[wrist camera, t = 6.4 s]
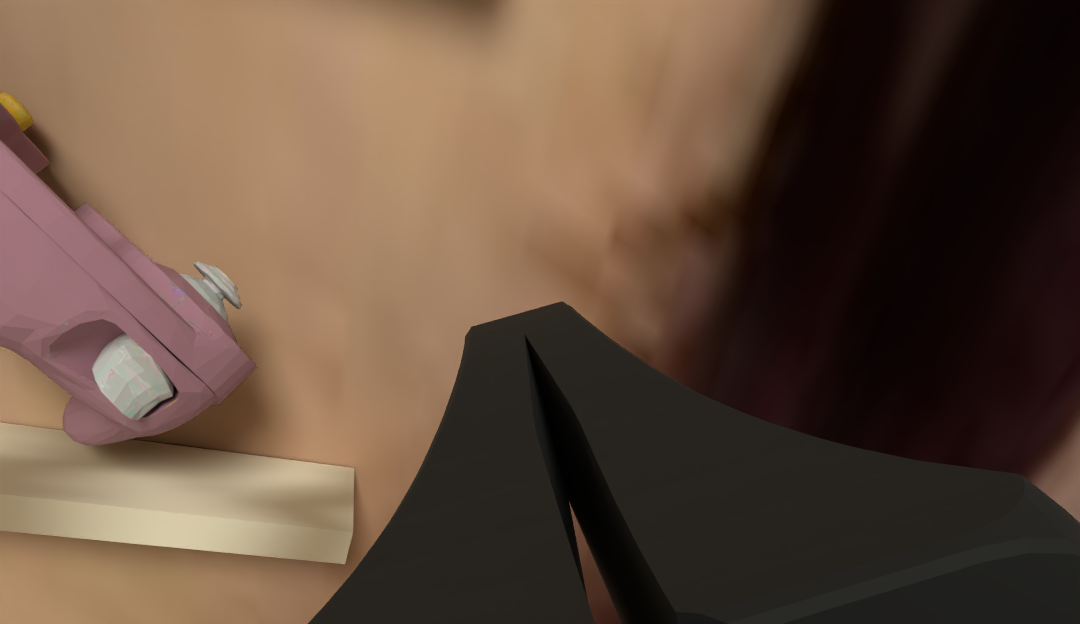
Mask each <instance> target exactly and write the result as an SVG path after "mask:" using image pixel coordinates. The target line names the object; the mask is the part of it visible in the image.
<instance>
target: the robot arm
mask: <svg viewBox="0 0 1080 624" xmlns="http://www.w3.org/2000/svg"><path fill="white" fill-rule="evenodd" d="M569 502H570V504H571V507H572V509H573V511H574V514H575V516H576V518H577V521H578V523H579V525H580V528H581V530H582V532H583V534H584V537H585V539H586V541H587V544H588V546H589V548H590V551H591V553H592V555H593V558H594V560H595V562H596V564H597V567H598V569H599V571H600V574H601V576H602V578H603V580H604V583H605V585H606V587H607V590H608V592H609V594H610V596H611V599H612V601H613V603H614V606H615V608H616V610H617V613H618V615H619V617H620V619H621V622H622V624H1080V523H1079V522H1078V521H1077V520H1076V519H1075V518H1074V517H1073V516H1072V515H1070V514H1069V513H1068V512H1067V511H1066V510H1065V509H1064V508H1062V507H1061V506H1060V505H1059V504H1057V503H1056V502H1055V501H1054V500H1052V499H1051V498H1050V497H1049V496H1047V495H1046V494H1045V493H1043V492H1042V491H1041V490H1040V489H1038V488H1037V487H1036V486H1035V485H1033V484H1032V483H1031V482H1030V481H1028V480H1027V479H1026V478H1025V477H1023V476H1022V475H1021V474H1014V473H1007V472H999V471H992V470H984V469H977V468H970V467H962V466H955V465H947V464H940V463H932V462H925V461H918V460H913V459H907V458H902V457H898V456H893V455H888V454H884V453H879V452H874V451H869V450H865V449H860V448H855V447H851V446H847V445H843V444H840V443H836V442H832V441H828V440H824V439H820V438H817V437H814V436H810V435H807V434H804V433H801V432H798V431H794V430H791V429H788V428H785V427H782V426H778V425H775V424H772V423H769V422H767V421H764V420H761V419H758V418H756V417H753V416H750V415H748V414H745V413H743V412H740V411H738V410H736V409H733V408H731V407H729V406H726V405H724V404H722V403H719V402H717V401H715V400H712V399H710V398H708V397H705V396H703V395H701V394H699V393H697V392H695V391H693V390H691V389H689V388H688V387H686V386H684V385H682V384H681V383H679V382H677V381H675V380H673V379H672V378H670V377H668V376H666V375H665V374H663V373H661V372H660V371H658V370H656V369H655V368H653V367H652V366H650V365H648V364H647V363H645V362H644V361H642V360H641V359H639V358H638V357H636V356H635V355H633V354H632V353H630V352H629V351H627V350H626V349H624V348H623V347H621V346H620V345H619V344H617V343H616V342H614V341H613V340H612V339H610V338H609V337H608V336H606V335H605V334H604V333H602V332H601V331H600V330H598V329H597V328H596V327H595V326H593V325H592V324H591V323H590V322H588V321H587V320H586V319H585V318H584V317H582V316H581V315H580V314H579V313H578V312H577V311H576V310H574V309H573V308H572V307H571V306H569V305H567V304H566V303H564V302H558V303H555V304H551V305H547V306H544V307H540V308H537V309H533V310H530V311H526V312H523V313H519V314H515V315H512V316H508V317H505V318H501V319H498V320H494V321H491V322H487V323H484V324H480V325H476V326H473V327H471V329H470V330H469V332H468V333H467V335H466V336H465V345H464V350H463V355H462V360H461V364H460V367H459V371H458V374H457V378H456V381H455V385H454V387H453V390H452V393H451V396H450V399H449V402H448V405H447V407H446V410H445V413H444V416H443V418H442V421H441V423H440V426H439V428H438V430H437V432H436V435H435V437H434V439H433V441H432V444H431V446H430V448H429V450H428V453H427V455H426V457H425V459H424V461H423V464H422V466H421V468H420V469H419V471H418V473H417V475H416V477H415V479H414V481H413V483H412V485H411V486H410V488H409V490H408V492H407V494H406V495H405V497H404V499H403V500H402V502H401V504H400V505H399V507H398V509H397V510H396V512H395V514H394V515H393V517H392V519H391V520H390V522H389V523H388V525H387V526H386V528H385V529H384V530H383V532H382V533H381V535H380V536H379V538H378V539H377V541H376V542H375V543H374V545H373V546H372V547H371V549H370V550H369V552H368V553H367V554H366V556H365V557H364V558H363V560H362V561H361V562H360V564H359V565H358V566H357V568H356V569H355V570H354V572H353V573H352V574H351V575H350V577H349V578H348V579H347V580H346V581H345V583H344V584H343V585H342V586H341V587H340V588H339V590H338V591H337V592H336V593H335V594H334V595H333V597H332V598H331V599H330V600H329V601H328V602H327V604H326V605H325V606H324V607H323V608H322V609H321V610H320V611H319V612H318V613H317V614H316V616H315V617H314V618H313V619H312V620H311V621H310V622H309V623H308V624H595V623H594V620H593V617H592V614H591V611H590V608H589V604H588V600H587V595H586V589H585V584H584V579H583V573H582V568H581V563H580V557H579V552H578V547H577V542H576V536H575V531H574V526H573V520H572V515H571V510H570V505H569Z"/></svg>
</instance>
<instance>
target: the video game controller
mask: <svg viewBox="0 0 1080 624" xmlns="http://www.w3.org/2000/svg"><path fill="white" fill-rule="evenodd" d="M32 124H33V119H32V117H31V115H30V113H29V112H28V110H27V109H26V108H25V107H24V106H23V104H22V103H20V102H19V101H18V100H17V99H16V98H14V97H13V96H12V95H9V94H7V93H4V92H1V93H0V346H2V347H5V348H7V349H10V350H12V351H14V352H15V353H17V354H19V355H20V356H22V357H24V358H25V359H27V360H28V361H29V362H31V363H32V364H33V365H34V366H36V367H37V368H38V369H39V370H41V371H42V372H43V373H44V374H46V375H47V376H48V377H49V378H51V379H52V380H53V381H54V382H56V383H57V384H58V385H59V386H61V387H62V388H63V389H64V390H66V391H67V392H68V393H69V394H71V395H72V398H71V399H70V401H69V402H68V404H67V405H66V407H65V411H64V414H63V428H64V431H65V433H66V434H67V435H68V436H69V437H70V438H71V439H72V440H73V441H74V442H78V443H81V444H84V445H88V446H94V445H103V444H109V443H115V442H120V441H124V440H128V439H132V438H136V437H144V436H152V435H158V434H161V433H164V432H166V431H169V430H172V429H174V428H177V427H179V426H180V425H182V424H184V423H186V422H188V421H189V420H191V419H193V418H195V417H196V416H197V415H199V414H200V413H202V412H203V411H204V410H206V409H207V408H208V407H210V406H213V405H218V404H220V403H221V402H222V401H223V400H224V399H225V398H226V397H227V396H228V395H229V394H230V393H231V392H232V391H233V390H234V389H235V388H236V387H238V386H239V385H240V384H241V383H242V382H243V381H244V380H245V379H246V378H247V377H248V376H249V375H250V374H251V373H252V372H253V371H254V370H255V369H256V368H257V367H256V365H255V363H254V362H253V361H252V360H251V359H250V358H249V356H248V355H247V354H246V353H245V352H244V351H243V350H242V349H241V348H240V347H239V346H238V344H237V341H236V339H235V337H234V334H233V332H232V330H231V328H230V326H229V324H228V318H227V313H226V310H225V307H224V305H223V302H222V300H223V298H225V299H227V300H228V301H229V302H230V303H231V304H232V305H233V306H235V307H236V308H237V309H240V307H241V305H242V304H241V302H240V297H239V295H238V294H237V287H236V286H235V285H234V283H233V282H232V281H231V280H230V279H229V278H228V277H227V276H226V275H225V274H224V273H223V272H222V271H221V270H219V269H218V268H217V267H211V266H210V265H209V264H203V263H201V262H198V261H197V262H195V263H194V266H195V267H196V268H197V269H198V271H199V272H200V273H201V274H202V275H203V276H204V277H205V279H203V280H200V279H198V278H195V277H192V276H190V275H187V274H179V273H177V272H176V271H175V270H174V269H171V268H168V267H166V266H163V265H160V264H158V263H155V262H153V261H152V260H151V259H150V258H149V257H148V256H147V255H146V254H144V253H143V252H142V251H141V250H140V249H138V248H137V247H136V246H135V245H134V244H133V243H131V242H130V241H129V240H128V239H127V238H126V237H125V236H123V235H122V234H121V233H120V232H119V231H118V230H117V229H116V228H115V227H114V226H113V225H111V224H110V223H109V222H108V221H107V220H106V219H105V218H104V217H103V216H102V215H100V214H99V213H98V212H97V211H96V210H95V209H94V208H93V207H92V206H91V205H89V204H86V203H84V204H83V205H81V206H80V207H79V208H78V209H76V210H75V211H73V210H72V209H71V208H70V207H69V206H68V205H67V204H66V203H65V202H64V201H63V200H62V199H61V198H60V197H58V196H57V195H56V194H55V193H54V192H53V191H52V190H51V189H50V188H49V187H48V186H47V185H46V184H45V183H44V182H43V181H42V180H41V179H40V178H39V177H38V176H37V175H36V174H37V173H39V172H40V171H41V170H43V169H44V168H45V167H46V166H48V165H49V161H48V159H47V158H46V157H45V156H44V155H43V153H42V152H41V151H40V150H39V149H38V148H37V147H36V146H35V145H34V143H33V142H32V141H31V140H30V139H29V138H28V137H27V136H26V135H25V134H24V132H23V131H25V130H26V129H27V128H28V127H30V126H31V125H32Z"/></svg>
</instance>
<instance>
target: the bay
mask: <svg viewBox="0 0 1080 624" xmlns="http://www.w3.org/2000/svg"><path fill="white" fill-rule="evenodd" d="M353 517H354V468H349V467H341V466H334V465H326V464H318V463H310V462H303V461H295V460H287V459H279V458H272V457H264V456H256V455H248V454H241V453H233V452H225V451H217V450H210V449H202V448H194V447H186V446H179V445H171V444H163V443H155V442H148V441H140V440H132V439H128V440H124V441H120V442H115V443H109V444H103V445H94V446H88V445H84V444H81V443H78V442H74V441H73V440H72V439H71V438H70V437H69V436H68V435H67V434H66V433H65V431H62V430H55V429H47V428H39V427H31V426H24V425H16V424H8V423H0V531H9V532H20V533H30V534H40V535H50V536H61V537H71V538H81V539H92V540H102V541H112V542H122V543H133V544H143V545H153V546H163V547H174V548H184V549H194V550H205V551H215V552H225V553H235V554H246V555H256V556H266V557H276V558H287V559H297V560H307V561H318V562H328V563H338V564H345V562H346V558H347V554H348V550H349V547H350V543H351V539H352V535H353Z"/></svg>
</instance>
